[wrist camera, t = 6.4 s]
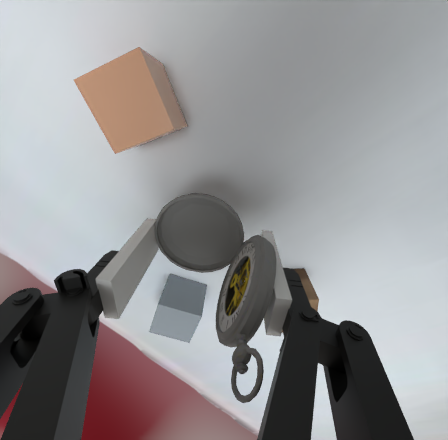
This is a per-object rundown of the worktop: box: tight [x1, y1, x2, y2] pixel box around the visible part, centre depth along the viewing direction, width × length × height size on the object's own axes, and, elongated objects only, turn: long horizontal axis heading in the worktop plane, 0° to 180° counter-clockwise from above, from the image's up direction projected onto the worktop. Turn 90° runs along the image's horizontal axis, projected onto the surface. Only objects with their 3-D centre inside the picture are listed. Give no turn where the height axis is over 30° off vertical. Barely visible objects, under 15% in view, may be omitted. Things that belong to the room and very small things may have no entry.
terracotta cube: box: [74, 47, 187, 154], centre depth 17 cm, size 5×5×5 cm
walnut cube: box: [282, 268, 319, 332], centre depth 25 cm, size 5×5×5 cm
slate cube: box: [149, 274, 207, 343], centre depth 27 cm, size 5×5×5 cm
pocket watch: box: [154, 193, 276, 403], centre depth 12 cm, size 8×8×10 cm
